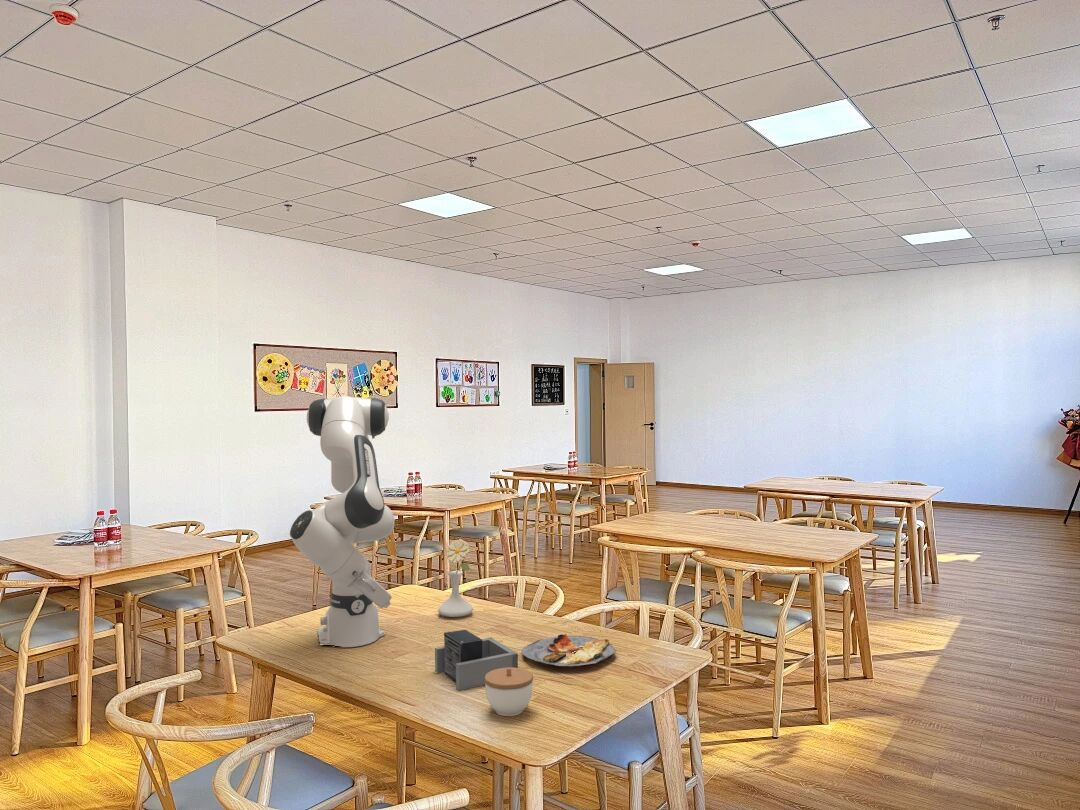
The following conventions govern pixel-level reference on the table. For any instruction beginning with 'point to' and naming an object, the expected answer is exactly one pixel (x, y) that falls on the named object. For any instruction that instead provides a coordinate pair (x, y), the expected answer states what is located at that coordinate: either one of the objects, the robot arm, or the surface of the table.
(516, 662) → the box
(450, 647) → the small box
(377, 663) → the table surface
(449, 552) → the flower in vase
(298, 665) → the table surface
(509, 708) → the lidded jar
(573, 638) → the food plate
